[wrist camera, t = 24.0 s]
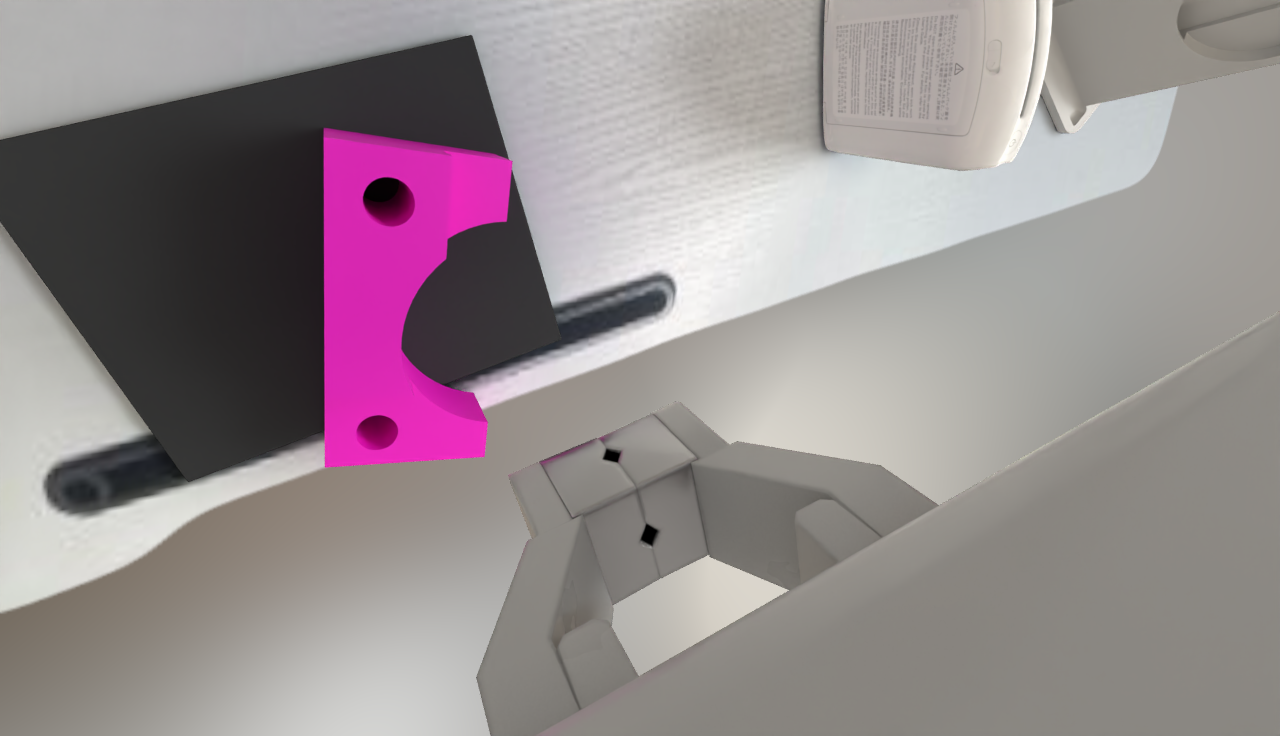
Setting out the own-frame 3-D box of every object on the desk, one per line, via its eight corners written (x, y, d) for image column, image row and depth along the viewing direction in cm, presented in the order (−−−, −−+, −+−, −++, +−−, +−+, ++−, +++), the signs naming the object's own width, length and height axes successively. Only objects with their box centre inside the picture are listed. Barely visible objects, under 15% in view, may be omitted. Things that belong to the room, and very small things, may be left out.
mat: (189, 477, 31) (187, 482, 31) (-45, 150, 23) (-52, 151, 23) (559, 336, 37) (562, 339, 36) (470, 35, 29) (472, 35, 29)
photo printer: (870, 147, 41) (1051, 167, 31) (817, 160, 40) (988, 186, 29) (876, -36, 36) (1093, -84, 26) (817, -29, 35) (1021, -76, 25)
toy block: (323, 137, 22) (527, 167, 26) (323, 127, 27) (493, 153, 31) (324, 496, 27) (495, 481, 31) (324, 430, 32) (470, 424, 36)
